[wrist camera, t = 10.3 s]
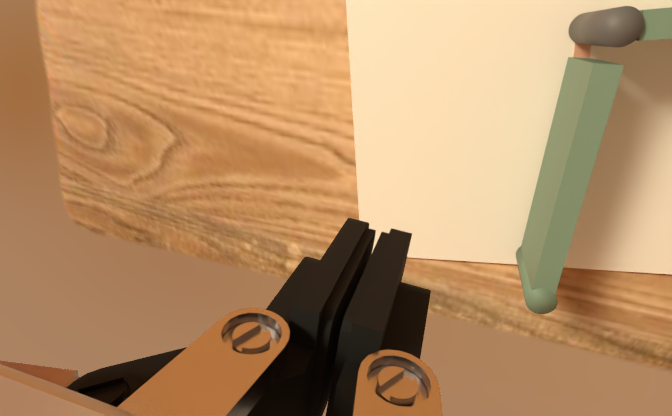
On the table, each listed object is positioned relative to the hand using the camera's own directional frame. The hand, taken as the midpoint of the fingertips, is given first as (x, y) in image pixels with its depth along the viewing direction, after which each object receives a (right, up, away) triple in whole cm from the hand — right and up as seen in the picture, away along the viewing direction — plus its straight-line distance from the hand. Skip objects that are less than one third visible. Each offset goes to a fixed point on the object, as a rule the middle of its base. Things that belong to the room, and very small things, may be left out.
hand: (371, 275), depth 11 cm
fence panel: (+12, +4, +15) cm, 20 cm away
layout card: (+13, +7, +15) cm, 21 cm away
